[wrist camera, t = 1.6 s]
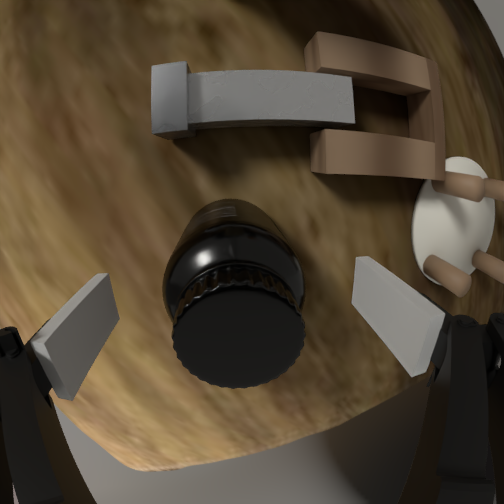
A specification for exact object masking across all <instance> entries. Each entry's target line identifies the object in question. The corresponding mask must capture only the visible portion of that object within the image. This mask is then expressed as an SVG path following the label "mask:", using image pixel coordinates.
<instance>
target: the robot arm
mask: <svg viewBox="0 0 504 504" xmlns="http://www.w3.org/2000/svg"><path fill="white" fill-rule="evenodd" d="M352 304H353V306H354V307H355V308H356V309H357V310H358V312H359V313H360V314H361V315H362V316H363V318H364V319H365V320H366V321H367V322H368V324H369V325H370V326H371V327H372V328H373V330H374V331H375V332H376V333H377V334H378V336H379V337H380V338H381V339H382V341H383V342H384V343H385V344H386V346H387V347H388V348H389V349H390V350H391V352H392V353H393V354H394V355H395V357H396V358H397V359H398V361H399V362H400V363H401V364H402V366H403V367H404V368H405V369H406V371H407V372H408V373H409V375H410V376H411V377H414V376H416V375H419V374H422V373H425V372H426V371H427V368H428V365H429V363H430V360H431V361H432V362H433V363H434V365H435V368H434V370H433V372H432V375H431V377H430V380H429V382H428V384H427V386H428V387H429V386H430V384H431V386H430V392H429V398H428V403H427V408H426V413H425V418H424V422H423V426H422V431H421V435H420V439H419V442H418V446H417V449H416V453H415V456H414V460H413V463H412V466H411V469H410V472H409V475H408V478H407V480H406V483H405V486H404V489H403V491H402V494H401V496H400V499H399V501H398V503H397V504H493V500H494V494H495V487H496V501H497V504H504V314H503V313H493V314H491V315H490V318H489V321H488V324H485V325H479V324H478V322H477V321H476V320H475V319H473V318H471V317H469V316H466V315H455V316H452V315H451V314H449V313H448V312H447V311H446V310H444V309H443V308H442V307H440V306H439V305H437V303H435V302H434V301H432V300H431V299H430V298H429V297H427V296H426V295H425V294H422V293H420V292H418V291H416V290H414V289H413V288H412V287H410V286H409V285H408V284H406V283H405V282H404V281H402V280H401V279H399V278H398V277H397V276H395V275H394V274H393V273H391V272H390V271H388V270H387V269H386V268H384V267H383V266H381V265H380V264H379V263H377V262H376V261H374V260H373V259H372V258H370V257H369V256H365V257H356V264H355V275H354V285H353V295H352ZM119 319H120V318H119V314H118V311H117V307H116V303H115V299H114V295H113V291H112V286H111V282H110V277H109V273H102V274H96V275H95V276H94V277H93V278H92V279H90V280H89V281H88V282H87V283H86V284H85V285H84V286H83V287H82V288H81V289H80V290H79V291H78V292H77V293H76V294H75V295H74V296H73V297H72V298H71V299H70V300H69V301H68V302H67V303H66V304H65V305H64V306H63V307H62V308H61V309H60V310H59V311H58V312H57V313H56V314H55V315H54V316H53V317H52V318H51V319H49V320H47V321H46V323H45V324H44V325H43V326H42V328H40V329H39V330H38V331H37V333H35V334H34V335H33V336H32V338H31V339H30V340H29V341H28V342H27V343H26V344H25V345H24V344H23V342H22V340H21V338H20V335H19V333H18V330H17V328H15V327H5V328H3V329H1V330H0V504H14V498H13V485H14V488H15V492H16V495H17V499H18V502H19V504H97V503H96V501H95V500H94V498H93V496H92V494H91V493H90V491H89V489H88V487H87V485H86V483H85V481H84V479H83V477H82V475H81V473H80V471H79V469H78V467H77V465H76V462H75V460H74V458H73V456H72V453H71V451H70V449H69V446H68V444H67V441H66V439H65V436H64V433H63V431H62V428H61V425H60V422H59V419H58V416H57V414H56V410H55V407H54V403H53V400H52V398H51V396H50V395H49V391H50V390H51V388H53V389H54V391H55V393H56V395H57V396H58V398H62V399H66V400H71V401H73V399H74V397H75V395H76V393H77V391H78V390H79V388H80V386H81V384H82V382H83V380H84V379H85V377H86V375H87V373H88V371H89V370H90V368H91V366H92V364H93V362H94V361H95V359H96V357H97V355H98V354H99V352H100V350H101V349H102V347H103V345H104V344H105V342H106V340H107V339H108V337H109V335H110V334H111V332H112V330H113V329H114V327H115V325H116V324H117V322H118V321H119ZM500 358H501V366H500V368H499V367H498V365H497V364H498V362H499V360H500ZM488 438H489V443H490V448H491V454H492V460H493V467H494V476H495V484H494V482H493V480H488V479H486V478H485V469H486V460H487V448H488Z"/></svg>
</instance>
